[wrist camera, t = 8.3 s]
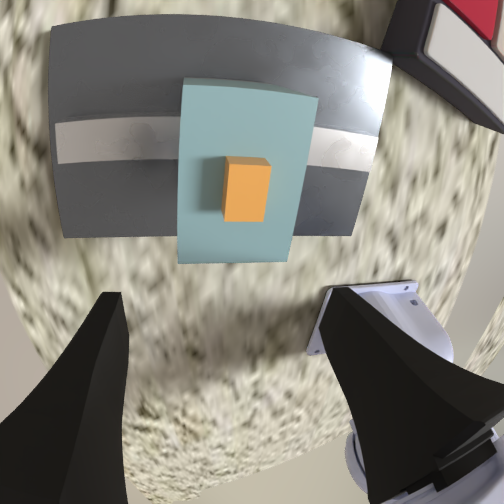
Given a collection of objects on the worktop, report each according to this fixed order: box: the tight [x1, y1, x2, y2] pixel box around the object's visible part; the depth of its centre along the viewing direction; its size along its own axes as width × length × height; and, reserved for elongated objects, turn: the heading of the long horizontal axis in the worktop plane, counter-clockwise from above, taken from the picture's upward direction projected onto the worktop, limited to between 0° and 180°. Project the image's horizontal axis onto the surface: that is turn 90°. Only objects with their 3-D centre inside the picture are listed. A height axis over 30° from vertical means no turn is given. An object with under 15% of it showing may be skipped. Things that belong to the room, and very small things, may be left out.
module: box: [177, 77, 319, 264], centre depth 12 cm, size 4×6×7 cm, turn 173°
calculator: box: [381, 0, 504, 134], centre depth 11 cm, size 11×4×15 cm
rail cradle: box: [48, 14, 393, 238], centre depth 15 cm, size 18×12×2 cm, turn 83°
